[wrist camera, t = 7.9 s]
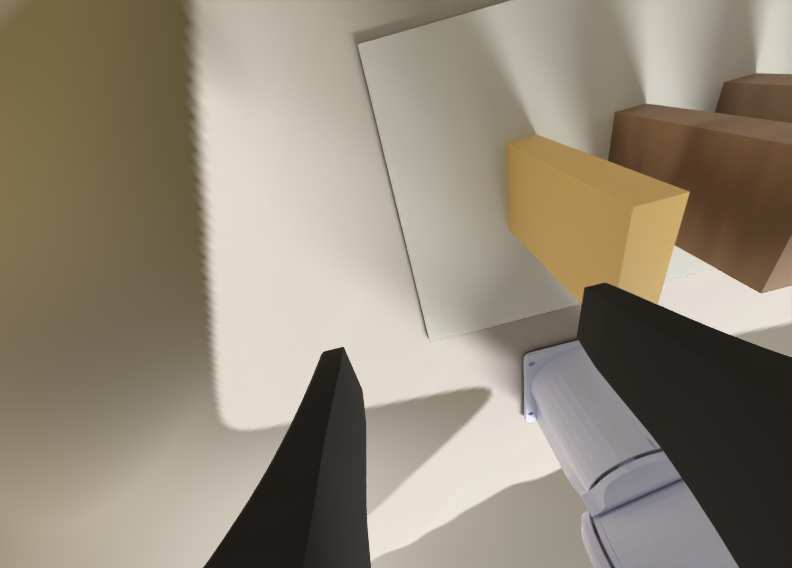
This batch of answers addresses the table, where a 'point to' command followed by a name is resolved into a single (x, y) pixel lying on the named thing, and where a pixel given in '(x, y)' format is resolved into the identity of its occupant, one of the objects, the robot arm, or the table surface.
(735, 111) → the domino
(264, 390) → the table surface
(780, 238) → the domino
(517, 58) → the mat
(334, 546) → the robot arm
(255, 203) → the table surface
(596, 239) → the domino
